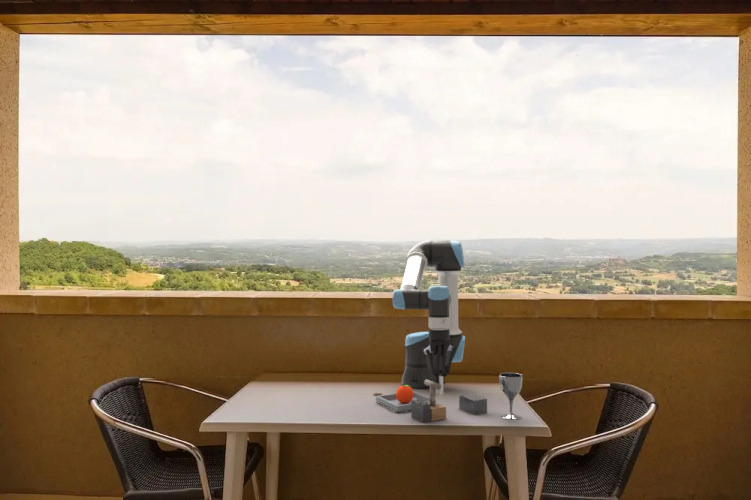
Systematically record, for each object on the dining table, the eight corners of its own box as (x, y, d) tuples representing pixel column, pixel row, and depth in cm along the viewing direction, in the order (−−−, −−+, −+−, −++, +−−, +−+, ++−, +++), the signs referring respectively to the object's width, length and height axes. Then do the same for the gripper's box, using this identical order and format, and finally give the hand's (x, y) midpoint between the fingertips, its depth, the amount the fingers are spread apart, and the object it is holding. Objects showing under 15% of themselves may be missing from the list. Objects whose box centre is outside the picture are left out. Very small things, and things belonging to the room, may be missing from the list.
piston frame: (410, 416, 196) (410, 399, 196) (472, 406, 208) (471, 390, 208) (424, 423, 188) (423, 405, 188) (487, 412, 200) (487, 396, 200)
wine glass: (496, 413, 198) (496, 372, 198) (518, 413, 199) (517, 372, 199) (503, 420, 190) (503, 377, 191) (526, 419, 191) (525, 376, 191)
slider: (419, 414, 197) (419, 380, 197) (433, 412, 200) (433, 378, 200) (431, 420, 190) (431, 384, 190) (446, 418, 193) (445, 382, 193)
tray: (376, 402, 215) (376, 396, 215) (413, 397, 223) (412, 390, 223) (397, 413, 200) (397, 406, 200) (436, 407, 208) (436, 400, 208)
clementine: (406, 399, 217) (405, 381, 217) (419, 402, 212) (419, 384, 212) (392, 403, 211) (392, 385, 211) (405, 406, 206) (405, 388, 206)
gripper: (429, 331, 190) (430, 398, 190) (459, 328, 196) (460, 394, 196) (418, 328, 197) (418, 393, 196) (447, 326, 203) (448, 389, 202)
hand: (439, 393), depth 196 cm, fingers closed
